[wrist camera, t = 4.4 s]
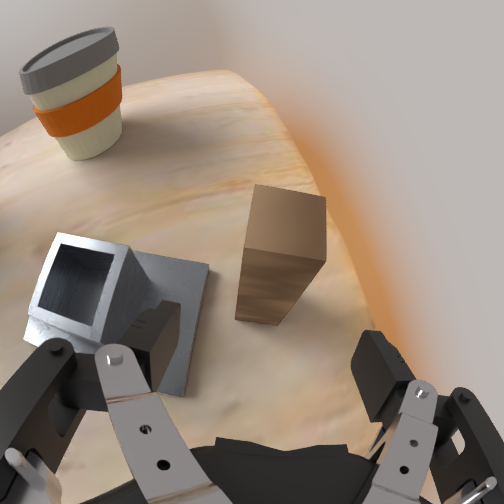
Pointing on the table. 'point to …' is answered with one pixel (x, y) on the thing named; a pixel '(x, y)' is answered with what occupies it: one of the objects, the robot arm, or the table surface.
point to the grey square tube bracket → (113, 298)
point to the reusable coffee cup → (78, 91)
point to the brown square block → (280, 252)
